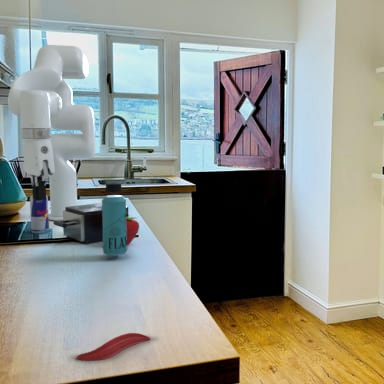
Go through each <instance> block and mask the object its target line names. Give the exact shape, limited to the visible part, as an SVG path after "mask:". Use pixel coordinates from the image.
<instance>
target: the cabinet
mask: <svg viewBox="0 0 384 384" xmlns="http://www.w3.org/2000/svg"><path fill="white" fill-rule="evenodd" d="M65 209H66V210H67V211H73V212H77V213H80V214H84V222H85V241H79V240H76V239H73V238H70V237H67V236H65V237H66V238H68V239H70V240H74V241H76V242H79V243H82V244H85V245H89V244H94V243H95V244H96V243H101V242H102V243H103V241H102V238H103V219H102V202H98V203H89V204H80V205H78V204H77V206H70V207H65ZM126 211H127V212H126V214H127V213H128V214H127V217H128V215H129V206H127V205H126Z"/></svg>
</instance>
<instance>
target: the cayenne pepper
mask: <svg viewBox="0 0 384 384" xmlns="http://www.w3.org/2000/svg"><path fill="white" fill-rule="evenodd" d="M150 340H151V338H150V336H148V335H145V334H142V333H139V332H128V333H124V334H120V335H118V336H115V337H113V338H112V339H109V340H108V341H107V342H105V343H103V344H101V345H100V346H99V347H97V348H95V349H93V350H91V351H88V352H87V351H86V352H84V353H81V354H78V355H77V356H76V357H75V359H77V360H80V361H81V360H82V361H101V360H105V359H109V358H112V357H114V356H116V355H118V353H120V352H121V351H124V350H125V349H128V348H129V347H132V346H134V345H137V344H139V343H143V342H146V341H150Z"/></svg>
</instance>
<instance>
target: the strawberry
mask: <svg viewBox="0 0 384 384" xmlns="http://www.w3.org/2000/svg"><path fill="white" fill-rule="evenodd" d="M126 212H127V211H126ZM127 214H128V217H127V216H126V221H127V222H126V228H127V246H129V245H130V244H131V243H132V241H134V239H135V237H136V236H137V235H138V233H139V229H140V223H139V221H137V220H135V219H136V217H132V216H131V217H130V215H129V212H128V213H127Z"/></svg>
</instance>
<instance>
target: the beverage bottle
mask: <svg viewBox="0 0 384 384" xmlns="http://www.w3.org/2000/svg"><path fill="white" fill-rule="evenodd" d="M122 191H123V188H122V183H120V182H108V183H106V184H105V192H106V193H107V192H108V193H119V192H122ZM101 203H102V219H103V238H102V253H103V254H104V255H106V256H119V255H121V256H122V255H125V254H126V253H127V251H128V245H127V228H126V222H127V221H126V216H127V214H126V206H127V199H126V198H125V197H124V196H123V195H122V194H121V195H120V194H110V195H106V196H104V198H102V200H101Z"/></svg>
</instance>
